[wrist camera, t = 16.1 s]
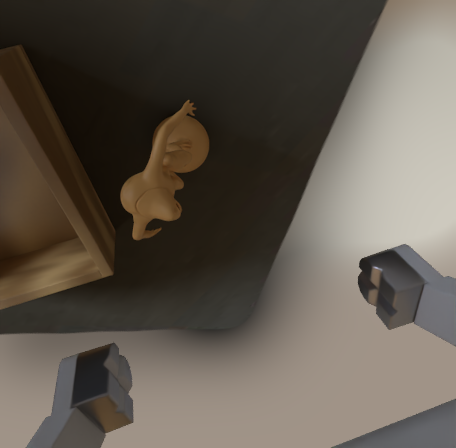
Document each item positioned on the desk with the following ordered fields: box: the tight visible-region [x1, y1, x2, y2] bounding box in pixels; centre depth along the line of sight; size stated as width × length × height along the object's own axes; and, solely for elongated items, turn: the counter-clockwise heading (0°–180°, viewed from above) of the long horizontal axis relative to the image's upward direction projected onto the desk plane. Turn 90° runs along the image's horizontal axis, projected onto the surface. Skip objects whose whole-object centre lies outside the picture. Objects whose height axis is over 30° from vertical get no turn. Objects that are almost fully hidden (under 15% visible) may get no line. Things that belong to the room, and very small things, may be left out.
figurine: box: [120, 100, 209, 240], centre depth 20 cm, size 8×6×12 cm
